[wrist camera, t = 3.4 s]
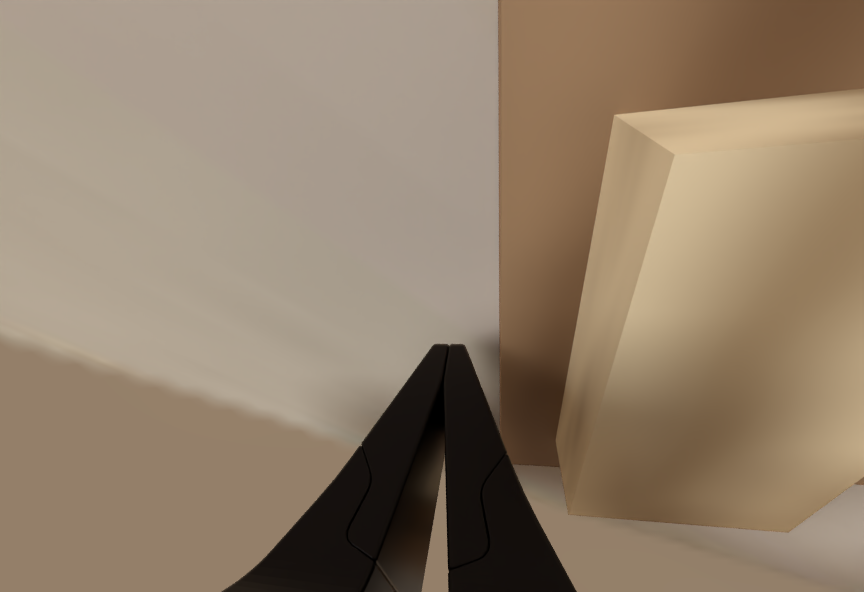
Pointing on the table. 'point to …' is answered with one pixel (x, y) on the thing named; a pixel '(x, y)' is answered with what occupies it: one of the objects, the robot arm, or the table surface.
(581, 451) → the maple plate
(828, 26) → the board
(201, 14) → the table surface
